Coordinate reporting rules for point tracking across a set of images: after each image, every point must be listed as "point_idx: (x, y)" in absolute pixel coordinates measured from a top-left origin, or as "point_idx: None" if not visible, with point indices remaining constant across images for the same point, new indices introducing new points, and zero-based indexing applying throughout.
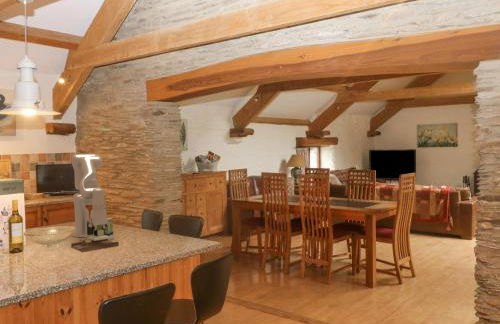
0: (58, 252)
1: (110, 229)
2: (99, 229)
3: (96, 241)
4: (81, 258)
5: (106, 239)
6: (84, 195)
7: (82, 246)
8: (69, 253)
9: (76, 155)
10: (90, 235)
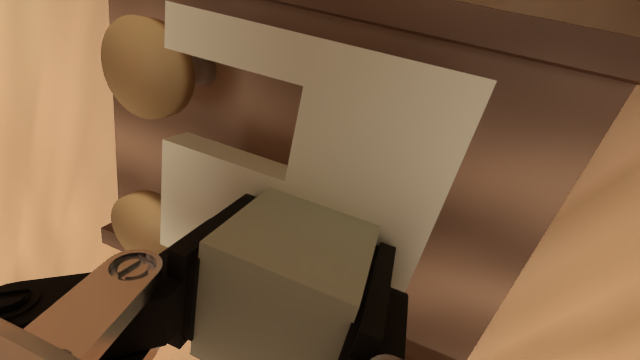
0: (3, 59)
1: None
2: (295, 308)
3: (423, 35)
4: None
5: (620, 80)
6: None
7: (169, 117)
8: (59, 172)
9: None
10: (241, 67)
